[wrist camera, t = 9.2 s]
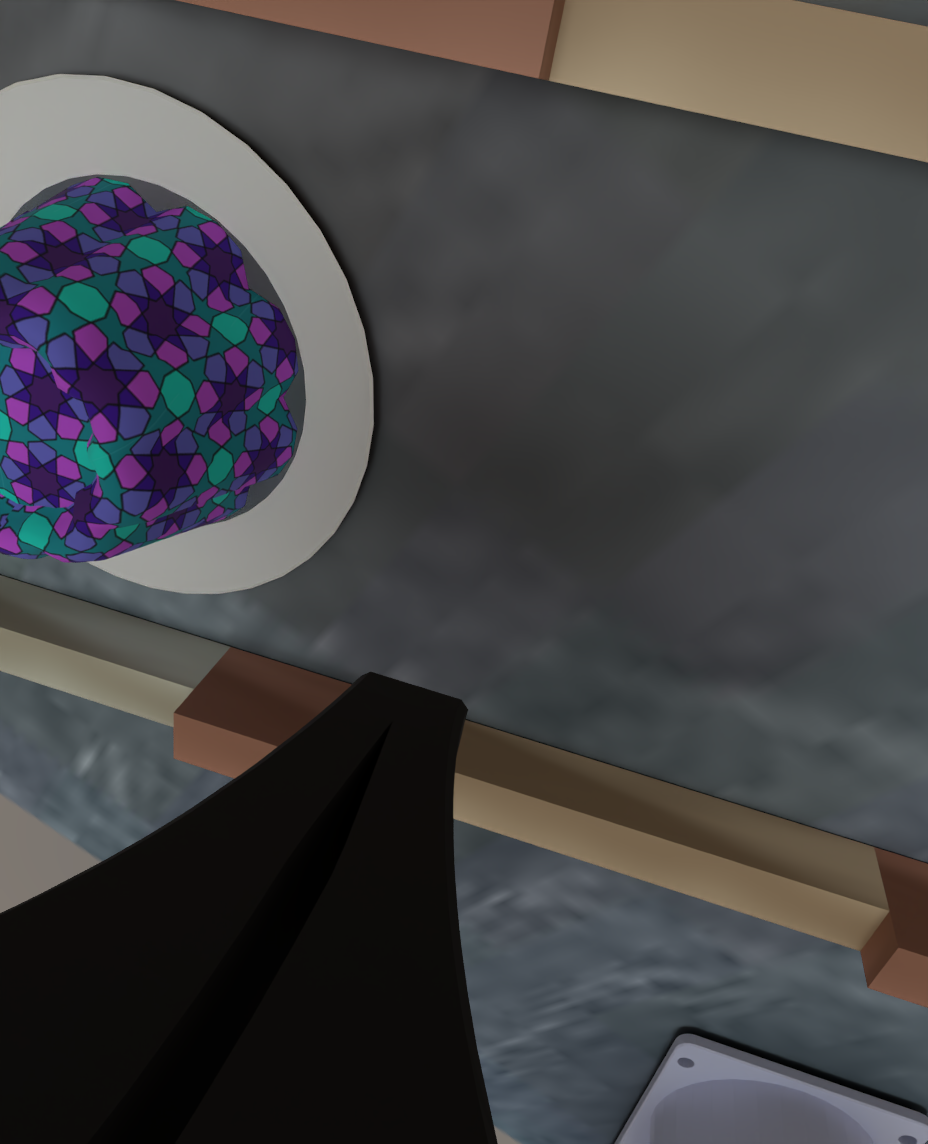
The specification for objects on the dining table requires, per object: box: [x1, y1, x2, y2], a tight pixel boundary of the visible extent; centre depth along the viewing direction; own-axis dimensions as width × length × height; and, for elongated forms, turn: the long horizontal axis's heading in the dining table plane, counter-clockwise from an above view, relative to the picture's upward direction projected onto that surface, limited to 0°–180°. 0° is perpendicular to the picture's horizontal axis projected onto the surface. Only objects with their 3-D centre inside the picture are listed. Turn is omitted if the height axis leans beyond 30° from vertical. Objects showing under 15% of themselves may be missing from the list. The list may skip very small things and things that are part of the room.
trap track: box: [0, 0, 928, 1008], centre depth 17 cm, size 18×43×4 cm, turn 79°
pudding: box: [0, 74, 374, 594], centre depth 18 cm, size 12×12×5 cm
